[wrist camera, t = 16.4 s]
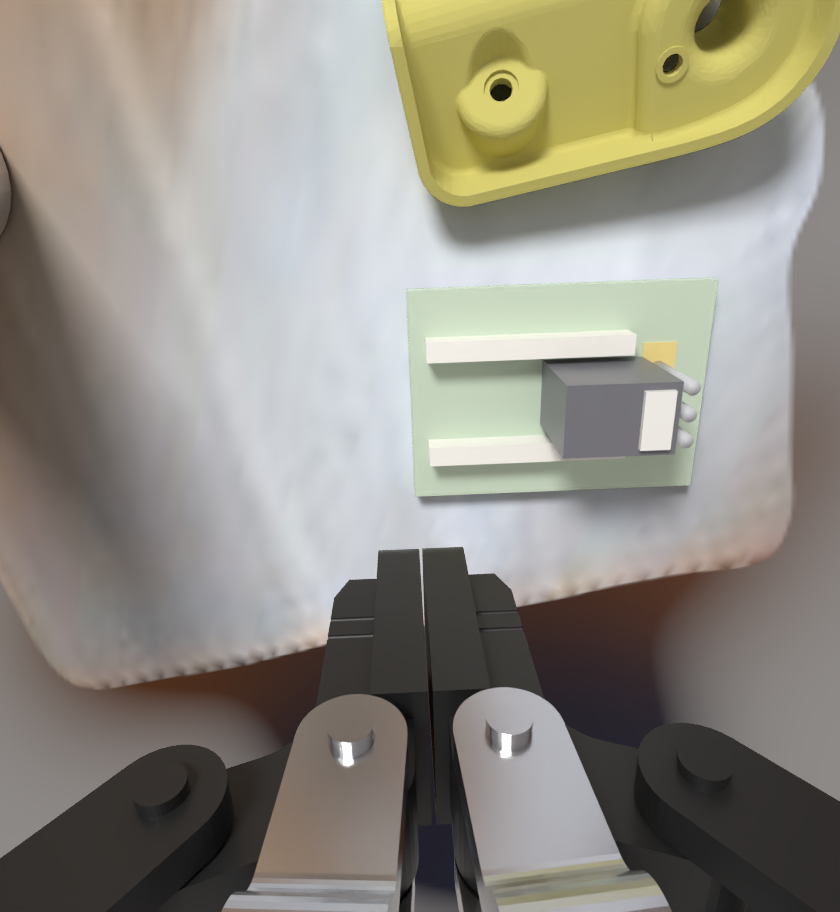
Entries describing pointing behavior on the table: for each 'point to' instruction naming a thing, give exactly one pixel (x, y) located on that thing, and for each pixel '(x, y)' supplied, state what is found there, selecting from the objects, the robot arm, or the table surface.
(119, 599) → the table surface
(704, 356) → the board
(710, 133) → the plastic component
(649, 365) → the plug
